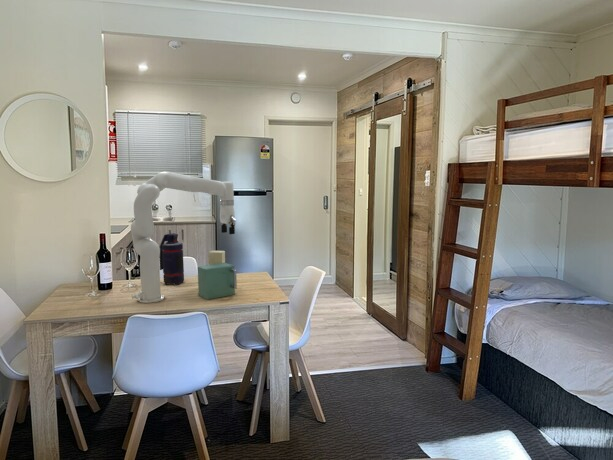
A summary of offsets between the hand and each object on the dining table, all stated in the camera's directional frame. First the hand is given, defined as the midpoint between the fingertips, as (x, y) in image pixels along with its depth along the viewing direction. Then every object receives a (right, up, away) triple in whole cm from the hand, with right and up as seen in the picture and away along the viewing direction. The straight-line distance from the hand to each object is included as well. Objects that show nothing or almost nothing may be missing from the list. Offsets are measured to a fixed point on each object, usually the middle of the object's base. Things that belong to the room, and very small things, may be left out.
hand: (228, 233), depth 255 cm
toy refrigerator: (-6, -31, +3) cm, 32 cm away
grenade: (-36, -30, +14) cm, 49 cm away
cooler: (-4, -33, -14) cm, 36 cm away
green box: (+1, -34, -21) cm, 40 cm away
